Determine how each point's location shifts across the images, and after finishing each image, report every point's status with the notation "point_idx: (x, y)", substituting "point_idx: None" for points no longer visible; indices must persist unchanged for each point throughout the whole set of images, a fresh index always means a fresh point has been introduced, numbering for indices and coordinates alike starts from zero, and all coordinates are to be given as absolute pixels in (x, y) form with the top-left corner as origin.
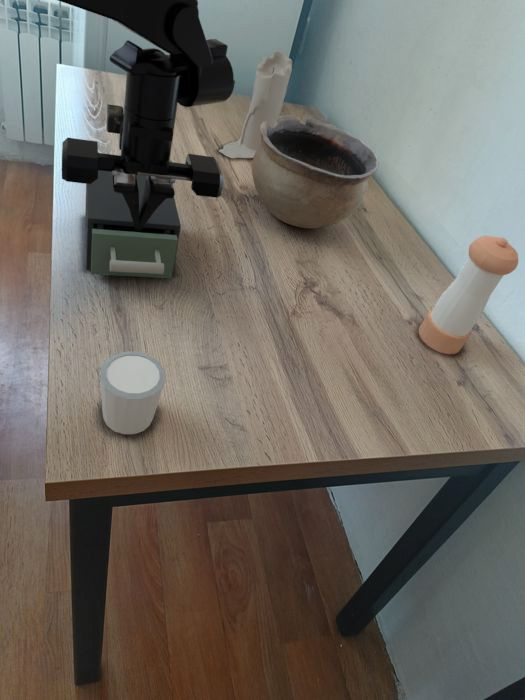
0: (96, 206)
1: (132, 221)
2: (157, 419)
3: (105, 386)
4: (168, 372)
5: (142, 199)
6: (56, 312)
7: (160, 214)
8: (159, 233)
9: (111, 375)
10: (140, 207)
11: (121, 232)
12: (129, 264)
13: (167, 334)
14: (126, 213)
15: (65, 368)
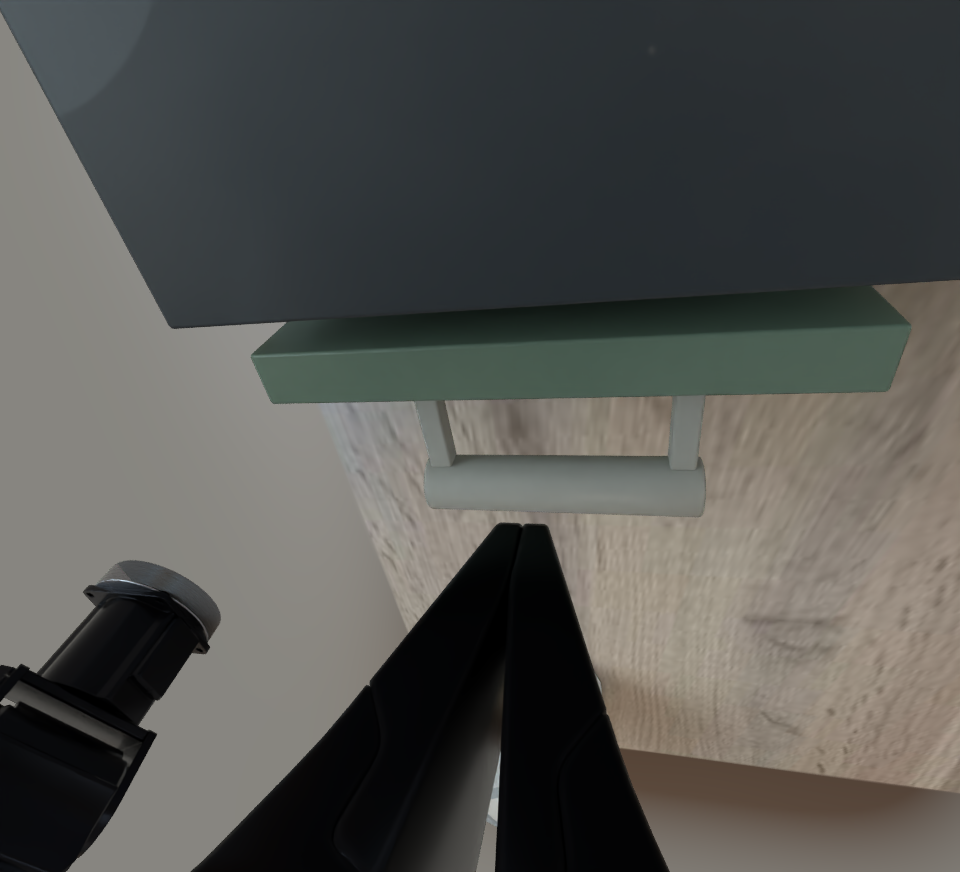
0: (129, 121)
1: (489, 303)
2: (608, 693)
3: (486, 821)
4: (652, 621)
5: (503, 747)
6: (336, 447)
7: (842, 53)
8: None
9: (495, 810)
10: (505, 652)
11: (431, 365)
12: (516, 510)
13: (677, 521)
14: (418, 172)
15: (414, 593)
